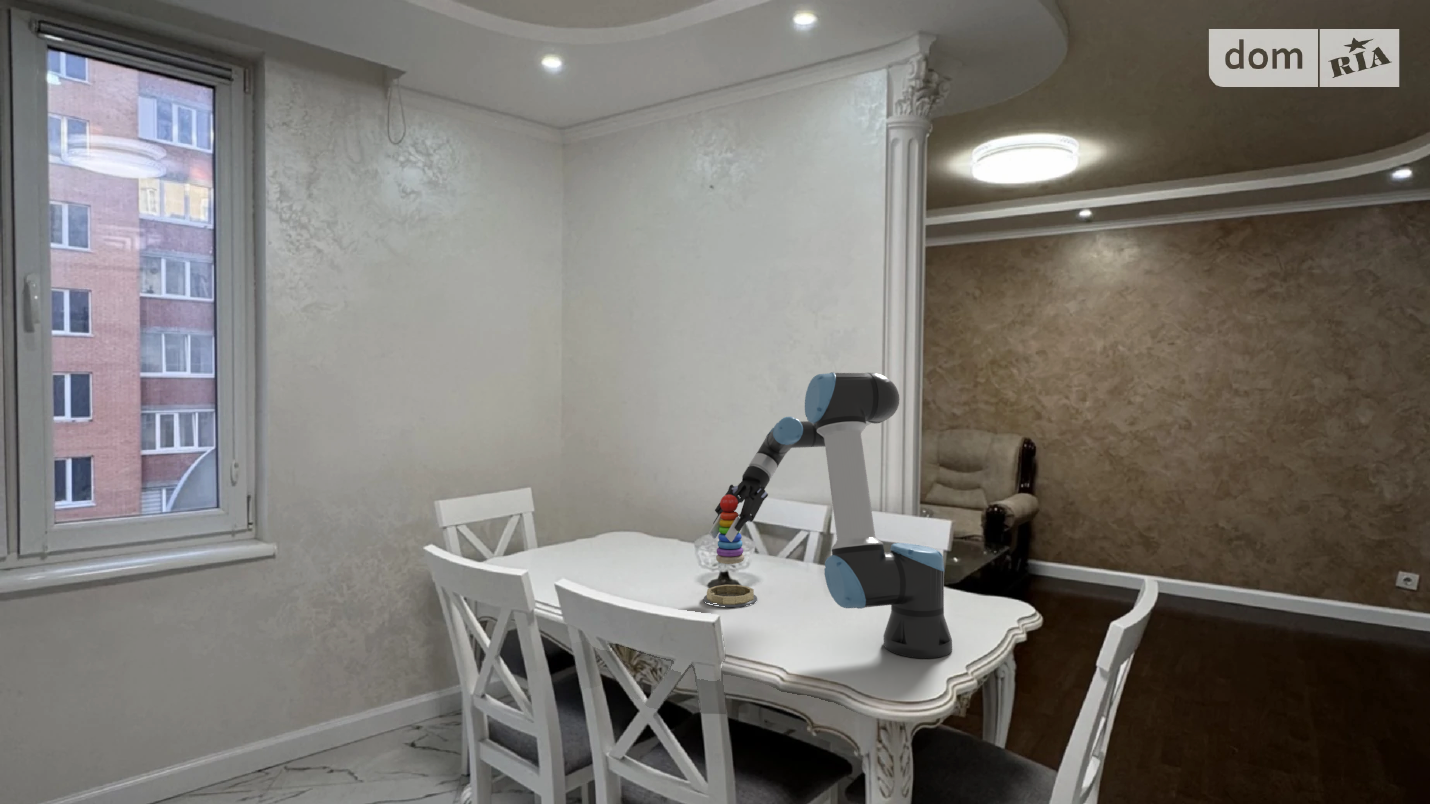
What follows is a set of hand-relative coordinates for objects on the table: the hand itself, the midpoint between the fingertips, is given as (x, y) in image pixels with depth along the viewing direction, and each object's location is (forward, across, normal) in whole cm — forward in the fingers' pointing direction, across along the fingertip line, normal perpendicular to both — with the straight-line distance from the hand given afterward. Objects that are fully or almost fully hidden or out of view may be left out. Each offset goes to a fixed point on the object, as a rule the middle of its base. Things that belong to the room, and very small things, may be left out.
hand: (720, 537), depth 210 cm
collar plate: (+11, 0, -15) cm, 19 cm away
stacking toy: (+3, 0, -8) cm, 8 cm away
